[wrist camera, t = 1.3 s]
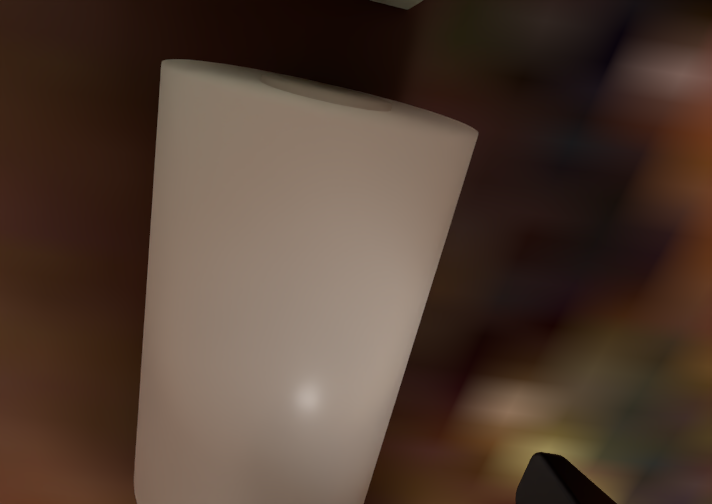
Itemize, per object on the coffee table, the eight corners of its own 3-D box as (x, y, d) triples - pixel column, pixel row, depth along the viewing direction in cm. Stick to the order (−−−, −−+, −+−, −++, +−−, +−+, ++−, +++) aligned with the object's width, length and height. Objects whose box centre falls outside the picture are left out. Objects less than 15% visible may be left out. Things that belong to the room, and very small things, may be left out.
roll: (352, 401, 15) (381, 583, 10) (166, 382, 14) (94, 574, 9) (433, 102, 12) (536, 152, 7) (196, 49, 11) (109, 60, 6)
